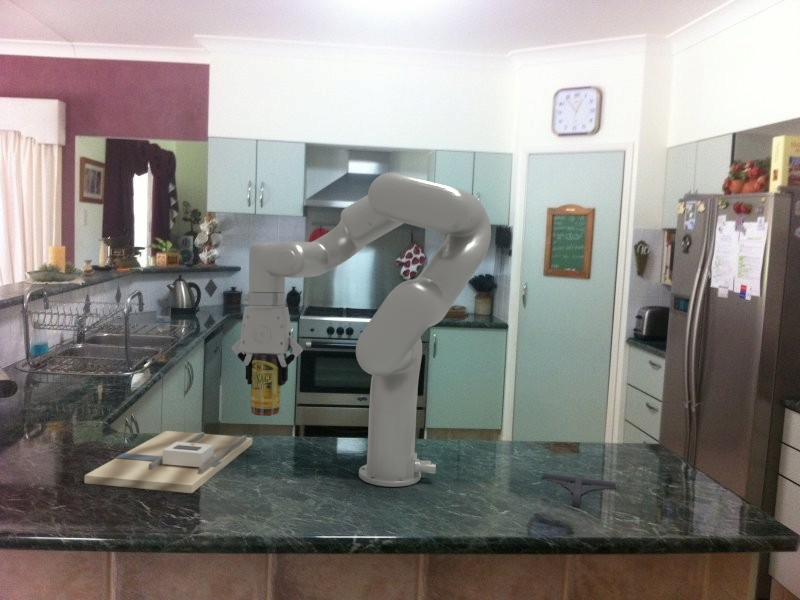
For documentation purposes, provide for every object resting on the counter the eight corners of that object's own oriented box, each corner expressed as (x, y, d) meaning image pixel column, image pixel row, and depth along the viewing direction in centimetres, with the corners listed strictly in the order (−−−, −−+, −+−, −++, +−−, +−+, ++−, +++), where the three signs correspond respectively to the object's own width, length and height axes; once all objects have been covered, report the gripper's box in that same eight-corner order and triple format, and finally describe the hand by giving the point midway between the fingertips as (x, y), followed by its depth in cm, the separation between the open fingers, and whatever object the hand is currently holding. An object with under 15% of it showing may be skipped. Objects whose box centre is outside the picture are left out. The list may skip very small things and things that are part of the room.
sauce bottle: (245, 415, 143) (244, 322, 142) (261, 409, 149) (261, 320, 148) (271, 418, 141) (270, 323, 139) (287, 412, 146) (286, 321, 145)
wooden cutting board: (252, 444, 154) (252, 433, 154) (191, 493, 123) (191, 479, 122) (165, 437, 157) (165, 426, 157) (84, 483, 125) (84, 470, 125)
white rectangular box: (176, 454, 138) (176, 440, 138) (213, 458, 137) (214, 444, 137) (162, 463, 132) (162, 449, 132) (201, 467, 131) (201, 452, 131)
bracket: (536, 504, 126) (537, 490, 126) (543, 479, 141) (543, 466, 140) (616, 517, 122) (617, 502, 122) (615, 490, 136) (616, 476, 136)
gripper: (221, 300, 141) (221, 385, 142) (301, 302, 138) (301, 388, 139) (234, 298, 148) (234, 379, 149) (311, 300, 146) (310, 382, 147)
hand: (266, 383), depth 144 cm, fingers closed on sauce bottle, 6 cm apart
